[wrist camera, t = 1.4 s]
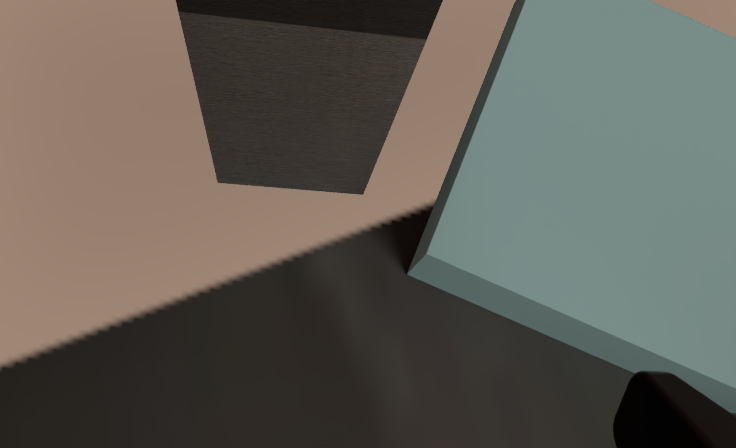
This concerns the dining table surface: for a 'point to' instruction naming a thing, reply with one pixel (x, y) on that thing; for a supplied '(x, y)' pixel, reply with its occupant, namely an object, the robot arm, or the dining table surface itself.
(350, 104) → the housing
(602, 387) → the dining table surface
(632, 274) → the stand
